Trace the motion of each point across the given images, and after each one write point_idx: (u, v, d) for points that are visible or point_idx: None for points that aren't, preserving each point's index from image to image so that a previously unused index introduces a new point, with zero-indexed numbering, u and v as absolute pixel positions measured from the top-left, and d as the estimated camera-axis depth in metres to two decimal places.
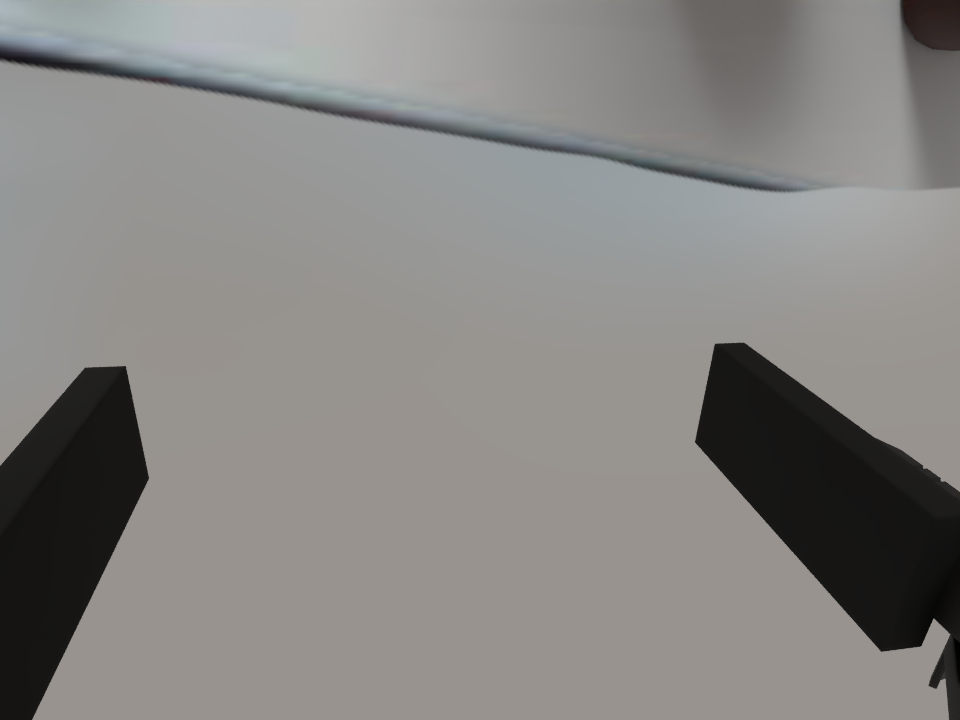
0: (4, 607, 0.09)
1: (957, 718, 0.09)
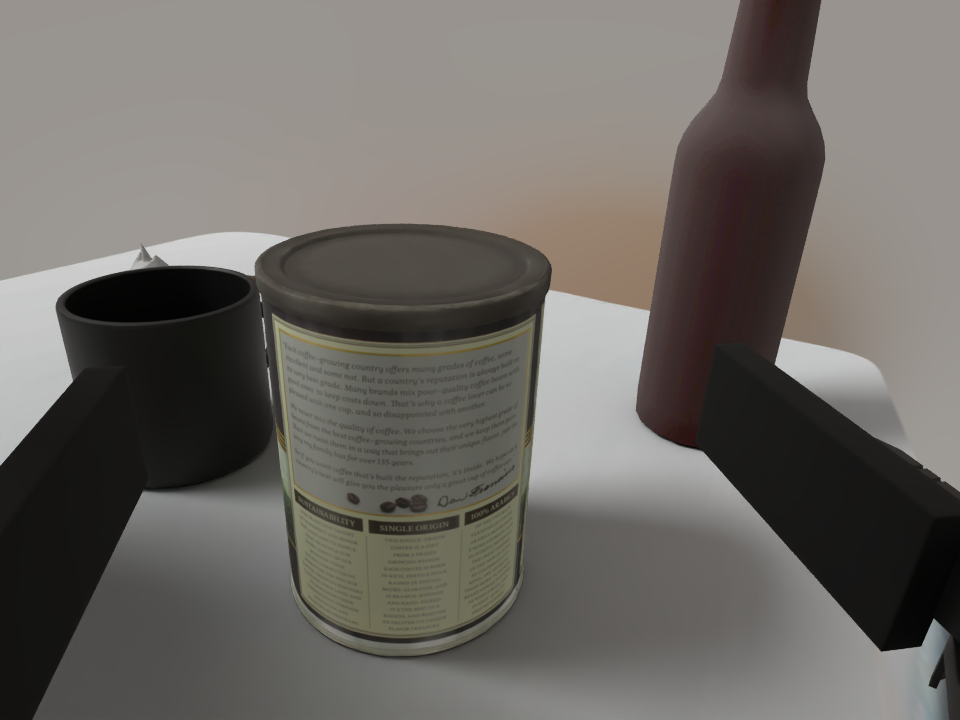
0: (4, 607, 0.09)
1: (957, 718, 0.09)
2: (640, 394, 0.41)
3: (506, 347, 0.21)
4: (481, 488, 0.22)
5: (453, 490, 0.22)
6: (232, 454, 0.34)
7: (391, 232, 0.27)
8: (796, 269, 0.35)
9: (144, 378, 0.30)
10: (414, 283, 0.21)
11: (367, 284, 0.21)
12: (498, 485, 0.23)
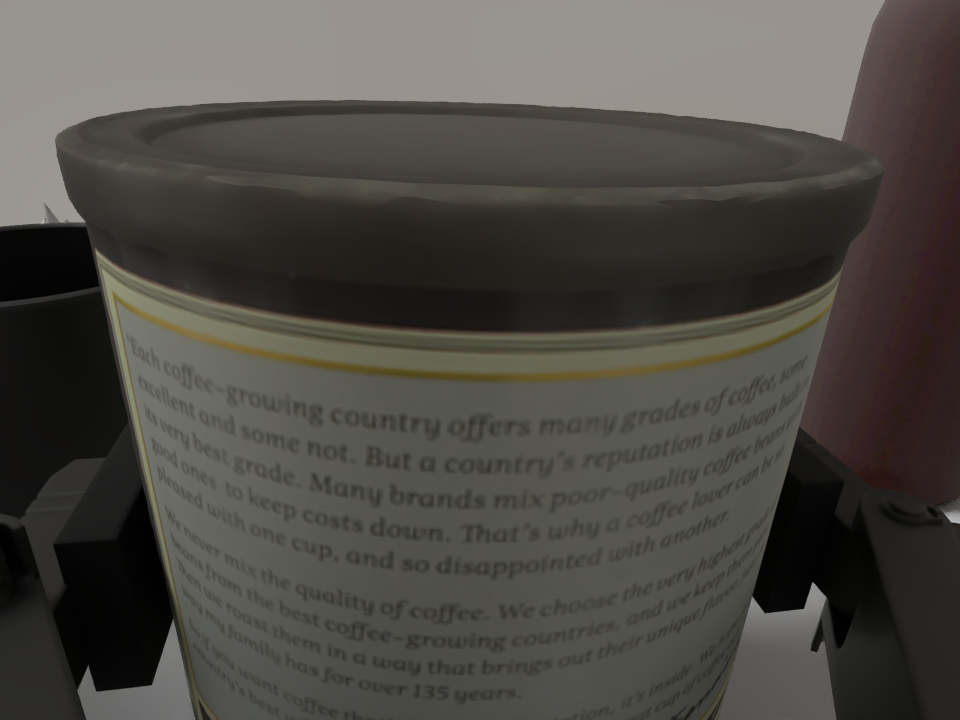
0: (147, 544, 0.10)
1: (838, 682, 0.10)
2: None
3: (800, 347, 0.07)
4: (679, 718, 0.09)
5: None
6: None
7: (423, 113, 0.13)
8: None
9: None
10: (519, 159, 0.07)
11: (382, 159, 0.07)
12: (710, 697, 0.09)
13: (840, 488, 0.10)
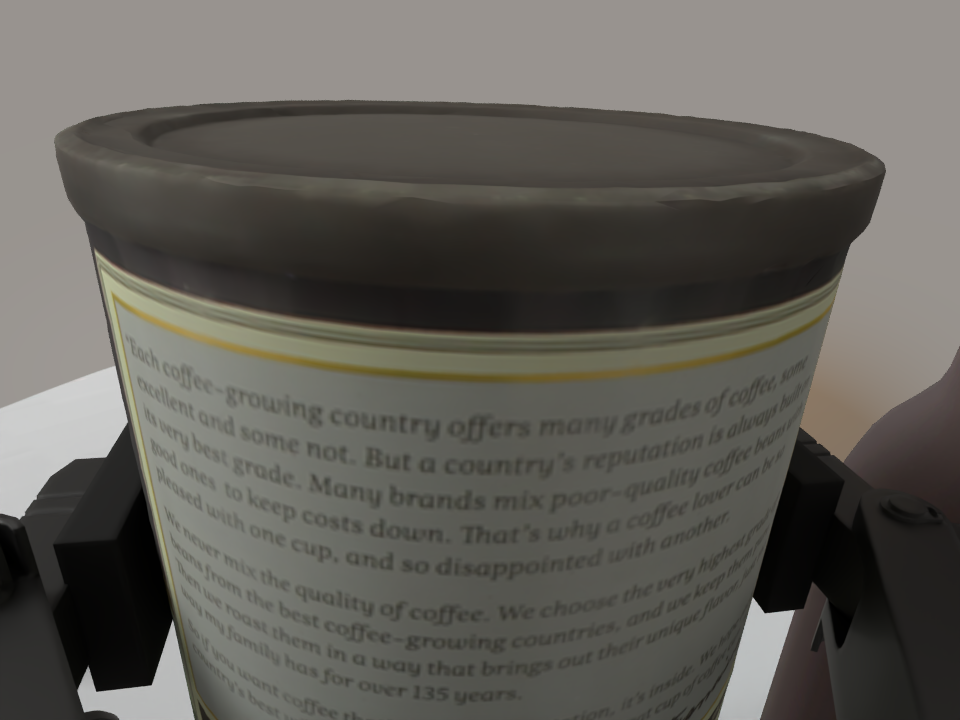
0: (147, 544, 0.10)
1: (838, 682, 0.10)
2: None
3: (802, 348, 0.07)
4: None
5: None
6: None
7: (423, 112, 0.13)
8: None
9: None
10: (519, 160, 0.07)
11: (382, 159, 0.07)
12: (710, 698, 0.09)
13: (840, 488, 0.10)
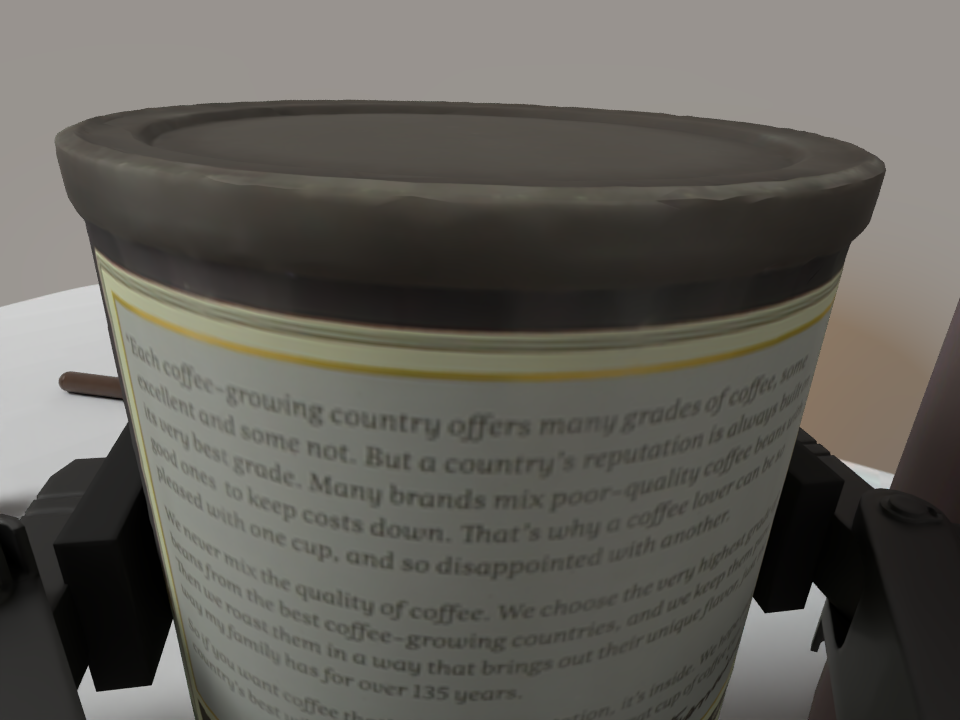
0: (147, 544, 0.10)
1: (838, 682, 0.10)
2: None
3: (801, 348, 0.07)
4: (679, 719, 0.09)
5: None
6: None
7: (423, 112, 0.13)
8: None
9: None
10: (519, 159, 0.07)
11: (382, 158, 0.07)
12: (711, 697, 0.09)
13: (840, 488, 0.10)
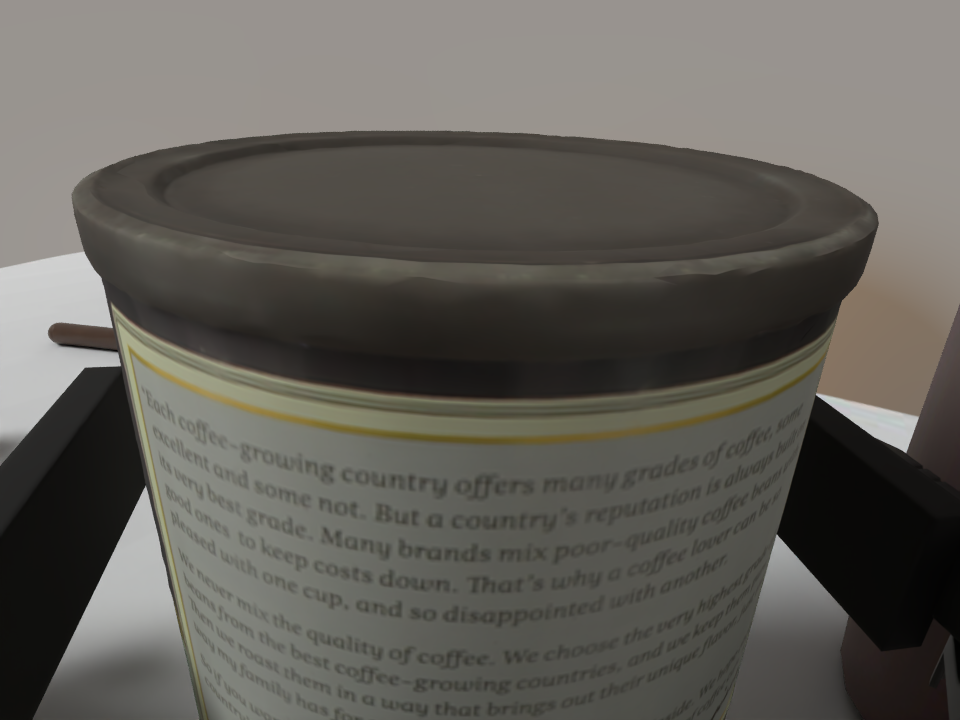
0: (4, 607, 0.09)
1: (957, 718, 0.09)
2: (872, 671, 0.17)
3: (796, 398, 0.07)
4: None
5: None
6: None
7: (427, 143, 0.13)
8: None
9: None
10: (522, 214, 0.07)
11: (390, 216, 0.07)
12: None
13: None
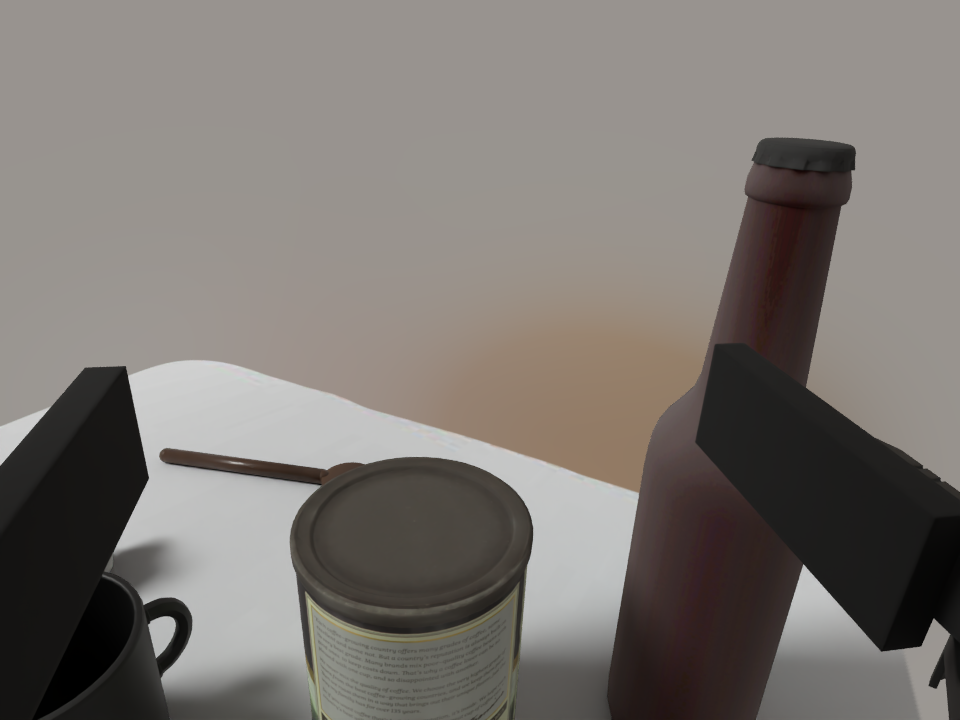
0: (4, 607, 0.09)
1: (957, 718, 0.09)
2: (611, 688, 0.35)
3: (495, 619, 0.26)
4: (475, 718, 0.27)
5: None
6: None
7: (399, 470, 0.32)
8: (792, 593, 0.29)
9: None
10: (420, 564, 0.26)
11: (382, 568, 0.26)
12: (490, 711, 0.28)
13: None
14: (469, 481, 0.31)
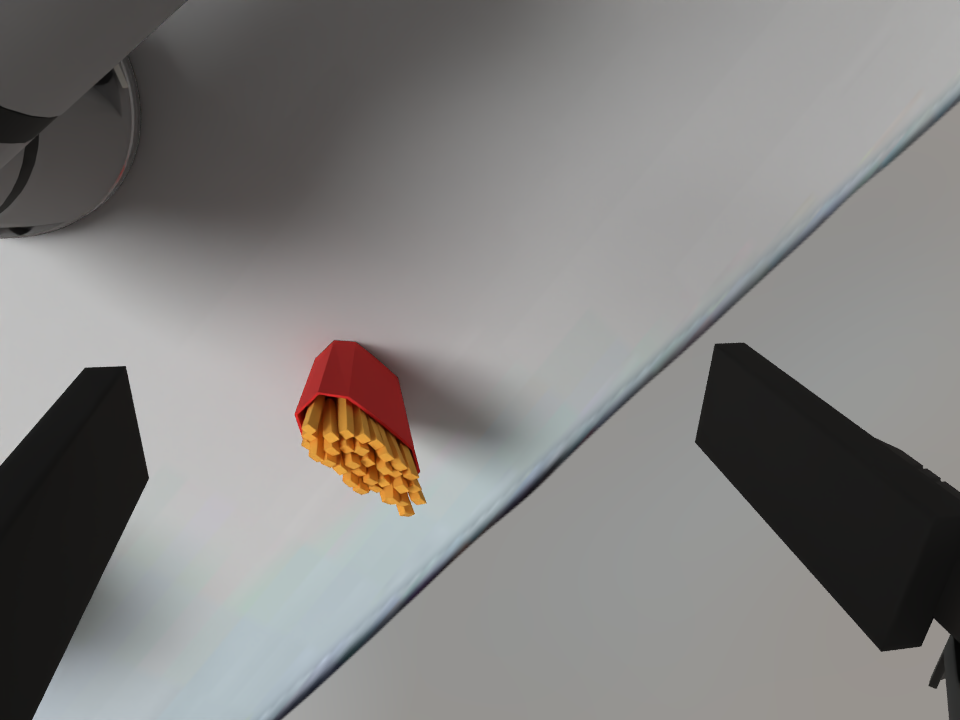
0: (4, 607, 0.09)
1: (957, 718, 0.09)
2: None
3: None
4: None
5: None
6: None
7: None
8: None
9: None
10: None
11: None
12: None
13: None
14: None
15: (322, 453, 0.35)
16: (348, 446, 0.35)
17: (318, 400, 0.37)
